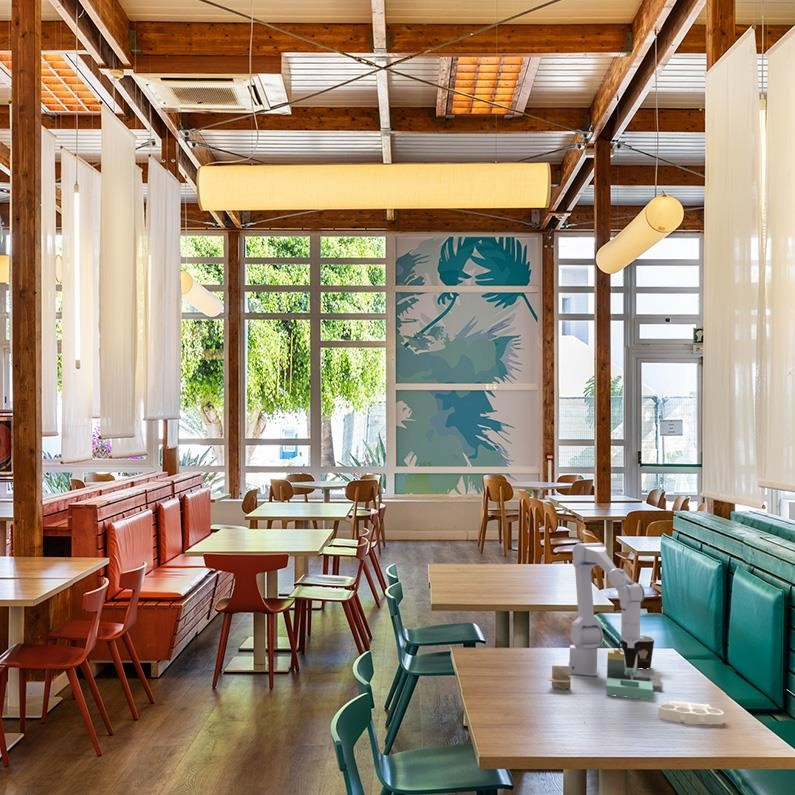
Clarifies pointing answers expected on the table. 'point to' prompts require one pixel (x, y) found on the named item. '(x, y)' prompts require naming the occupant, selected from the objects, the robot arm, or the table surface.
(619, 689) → the holder
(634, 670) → the white upright block
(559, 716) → the table surface
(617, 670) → the socket block
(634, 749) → the table surface
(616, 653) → the yellow small block
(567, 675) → the architectural model
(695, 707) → the white brass knuckles
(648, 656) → the coffee mug
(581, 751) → the table surface
